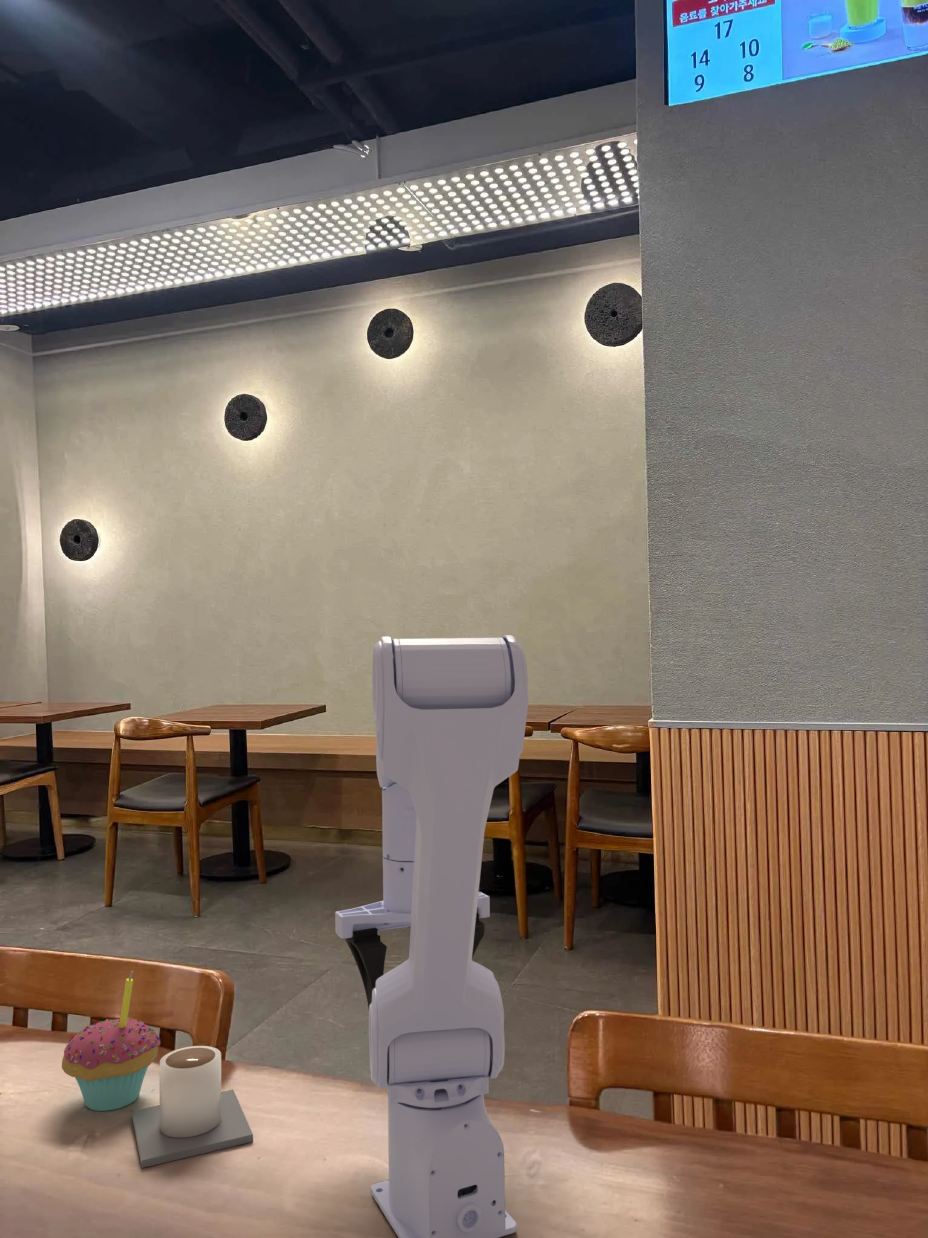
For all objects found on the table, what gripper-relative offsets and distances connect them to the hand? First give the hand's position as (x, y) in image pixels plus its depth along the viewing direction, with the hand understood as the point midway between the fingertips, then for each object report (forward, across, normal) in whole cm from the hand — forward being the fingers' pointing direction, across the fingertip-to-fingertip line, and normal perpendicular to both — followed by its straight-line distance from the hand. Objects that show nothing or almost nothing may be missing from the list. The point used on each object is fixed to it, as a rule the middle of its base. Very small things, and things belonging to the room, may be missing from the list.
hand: (415, 1006), depth 82 cm
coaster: (+9, +19, -6) cm, 22 cm away
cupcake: (+10, +25, -15) cm, 31 cm away
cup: (+9, +19, -6) cm, 22 cm away
